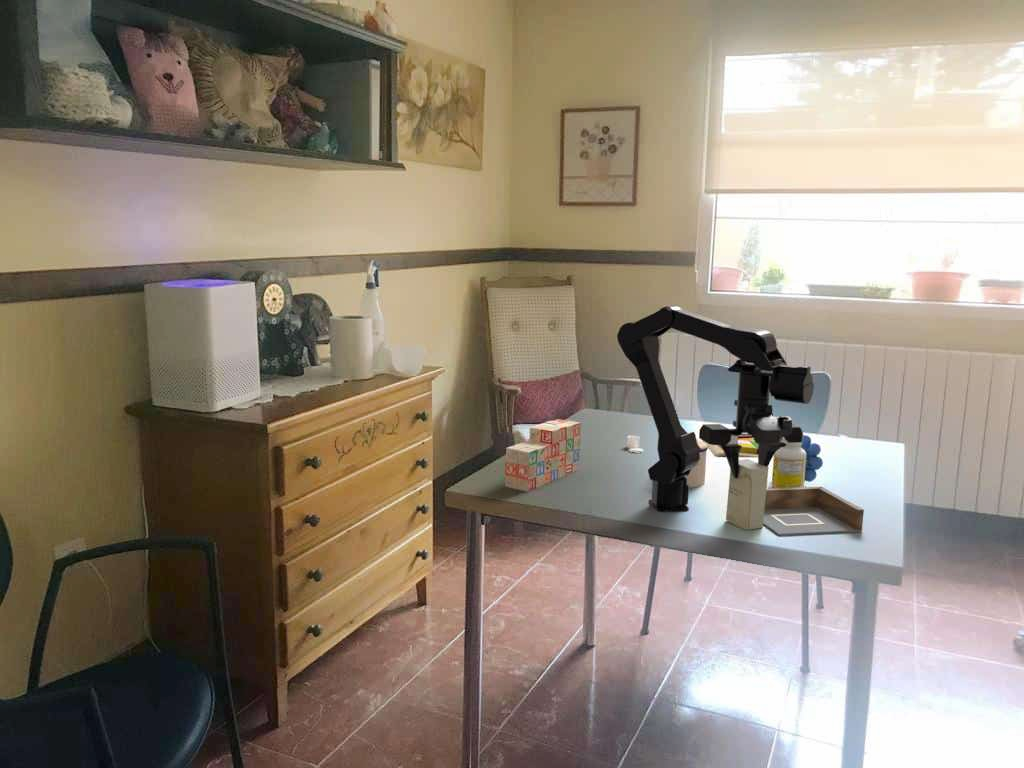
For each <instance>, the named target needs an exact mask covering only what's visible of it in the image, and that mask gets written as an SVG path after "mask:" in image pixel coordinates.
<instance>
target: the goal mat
mask: <svg viewBox="0 0 1024 768" xmlns="http://www.w3.org/2000/svg"><path fill="white" fill-rule="evenodd" d="M763 526H764V527H766V528H767V529H768V530H770V532H773V533H774V535H777V536H778V537H785V536H786V537H787V536H802V535H803V536H804V535H809V536H810V535H823V534H825V535H829V534H847V533H848V534H849V533H862V532H863V529H862V530H855V529H853V528H852V527H850V526H848V525H847V524H845V523H843V522H842V521H840V520H838V519H837V518H835V517H833V516H832V515H830V514H828V513H826V512H825V511H823V510H821V509H820V508H818V507H811V508H787V509H764V518H763Z"/></svg>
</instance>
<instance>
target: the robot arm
mask: <svg viewBox="0 0 1024 768" xmlns="http://www.w3.org/2000/svg"><path fill="white" fill-rule="evenodd" d="M671 329H674V330H676V331H679V332H682V333H684V334H686V335H690V336H693V337H696V338H698V339H701V340H704V341H707V342H710V343H713V344H715V345H718V346H720V347H722V348H723V349H725V350H726V351H727V352H728V353H730V354H731V355H733V356H734V357H736V358H738V359H737V360H736V361H735V363H734V364H733V365H731V366H730V367H728V368H727V371H728V372H730V373H738V386H737V387H738V388H737V399H734V401H733V402H734V405H733V406H736V417H735V418H736V419H735V420H733V421H732V426H733V427H734V428H729V427H727V426H724V425H723V424H720V423H711V424H710V423H707V424H706V423H705V424H702V426H701V427H700V428H699V432H698V433H699V434H698V438H699V439H700V441H702V440H703V441H705V442H706V443H708V444H710V445H721V447H722V449H723V451H724V453H725V455H726V456H725V457H726V460H727V462H728V465H729V468H730V469H731V472H732V474H733V477H734V478H737V477H738V471H739V460H740V457H739V451H740V449H741V447H742V446H741V445H739V444H738V438H753V439H754V441H755V442H756V443H757V444H759V445H758V457H757V461H758V462H757V463H759V464H761V465H764V466H766V467H768V468H769V465H770V464H771V461H772V459H773V458H774V454H775V452H776V451H777V450H779V449H780V448H781V447H785V446H786V444H785V443H783V437H784V439H785V440H786V441H787V442H788V443H800V442H803V435H804V432H803V429H802V428H801V427H800V426H798V425H796V424H793V419H792V418H791V417H790V416H789V415H788V416H787V415H785V416H782V415H781V416H774V414H773V409H774V408H773V404H770V396H771V397H774V398H773V399H774V400H775V401H778V402H779V401H780V402H788V403H796V404H802V405H809V403H810V402H811V400H812V398H813V395H814V394H813V393H814V388H815V383H814V381H813V380H814V378H813V375H812V373H811V371H812V369H811V368H812V367H811V366H808V365H800V366H798V365H797V366H796V365H788V363H787V361H786V360H785V357H784V356H783V355H782V352H780V350H779V349H778V347H777V345H778V344H777V340H776V338H775V336H774V334H773V332H770V331H769V330H766V329H761V328H760V329H759V328H753V327H743V326H734V325H731V324H726V323H724V322H721V321H718V320H715V319H712V318H709V317H706V316H703V315H700V314H698V313H694V312H692V311H688V310H686V309H683V308H681V307H679V306H677V305H671V306H664V307H661V308H659V310H657V311H656V312H654V313H651V314H649V315H648V316H645V317H643V318H641V319H639V320H636V321H631V322H627V323H624V324H622V325H621V326H620V328H619V330H618V332H617V334H616V338H617V339H616V340H617V343H618V345H619V347H620V349H621V350H622V352H623V355H624V356H625V357H626V358H627V360H628V361H630V363H631V364H632V366H634V367H635V369H636V372H637V375H638V378H639V382H640V384H641V386H642V389H643V392H644V396H645V398H646V401H647V404H648V407H649V410H650V412H651V415H652V418H653V421H654V424H655V426H656V430H657V433H658V435H657V436H658V437H657V438H658V439H657V448H656V449H657V453H658V459H659V460H657V462H655V463H654V464H653V465H651V467H649V468H648V469H647V473H648V477H649V480H651V481H652V486H651V487H652V488H651V499H648V503H649V504H650V505H651V506H652V507H653V508H654V509H655V510H656V511H658V512H675V511H676V512H679V511H689V506H688V504H689V489H690V487H689V486H688V485H687V479H686V478H685V477H684V476H688V475H689V474H690V472H691V469H692V468H694V467H695V466H696V465H697V464H698V461H699V460H700V454H699V451H700V450H701V448H700V447H699V446H698V444H697V441H696V439H697V437H696V436H697V435H696V433H695V432H694V431H691V432H690V431H689V432H690V433H687V432H688V431H686V430H685V428H684V427H683V426H682V425H681V422H680V419H679V416H678V413H677V410H676V407H675V404H674V402H673V398H672V396H671V394H670V393H671V392H670V390H669V386H668V385H667V382H666V381H667V380H666V379H665V376H664V374H663V370H662V367H661V365H660V362H659V361H660V360H659V354H660V342H659V337H661V336H663V335H665V334H666V333H668V331H670V330H671ZM703 441H702V442H703ZM730 469H729V470H730Z"/></svg>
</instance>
